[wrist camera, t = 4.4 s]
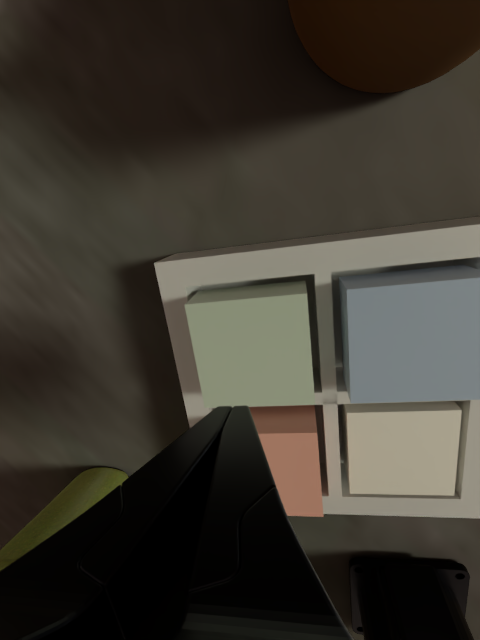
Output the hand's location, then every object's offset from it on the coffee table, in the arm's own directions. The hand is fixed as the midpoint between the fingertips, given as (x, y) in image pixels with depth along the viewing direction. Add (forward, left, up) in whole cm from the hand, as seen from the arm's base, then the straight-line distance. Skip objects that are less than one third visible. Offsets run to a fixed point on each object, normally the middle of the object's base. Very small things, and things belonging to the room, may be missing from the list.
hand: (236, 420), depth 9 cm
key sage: (0, 0, -6) cm, 6 cm away
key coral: (-6, 0, -6) cm, 8 cm away
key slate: (0, -6, -6) cm, 8 cm away
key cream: (-6, -6, -7) cm, 11 cm away
